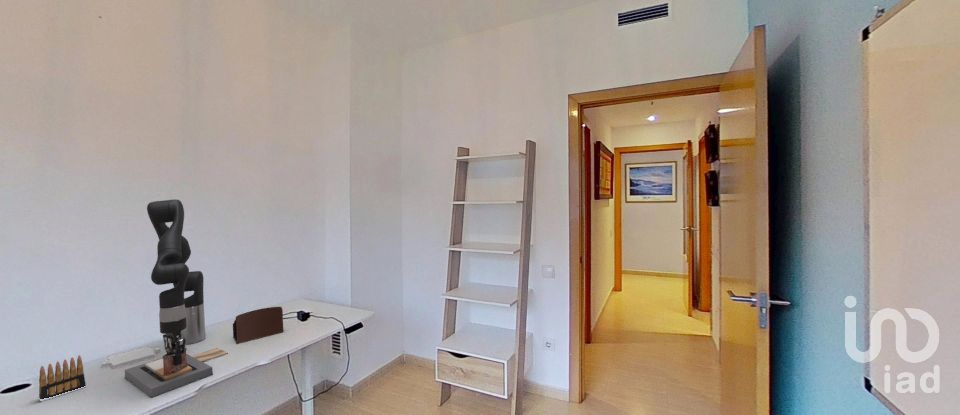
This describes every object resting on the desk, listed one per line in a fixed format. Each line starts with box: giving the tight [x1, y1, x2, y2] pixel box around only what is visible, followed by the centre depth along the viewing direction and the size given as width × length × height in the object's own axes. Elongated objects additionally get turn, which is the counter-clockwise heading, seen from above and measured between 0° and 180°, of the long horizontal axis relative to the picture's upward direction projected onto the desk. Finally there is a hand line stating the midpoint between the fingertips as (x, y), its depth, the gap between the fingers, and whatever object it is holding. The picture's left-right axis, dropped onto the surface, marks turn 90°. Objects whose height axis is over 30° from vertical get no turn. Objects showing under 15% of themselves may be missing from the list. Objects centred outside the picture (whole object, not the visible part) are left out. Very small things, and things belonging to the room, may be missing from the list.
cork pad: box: [190, 347, 228, 363], centre depth 155 cm, size 10×10×1 cm
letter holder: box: [232, 306, 285, 345], centre depth 178 cm, size 10×20×14 cm, turn 133°
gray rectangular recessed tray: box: [123, 353, 214, 398], centre depth 138 cm, size 28×18×3 cm, turn 58°
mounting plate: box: [100, 346, 161, 370], centre depth 154 cm, size 18×13×2 cm
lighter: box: [161, 346, 188, 376], centre depth 134 cm, size 8×3×10 cm, turn 168°
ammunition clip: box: [38, 355, 87, 399], centre depth 127 cm, size 11×2×12 cm, turn 153°
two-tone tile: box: [144, 358, 192, 380], centre depth 138 cm, size 20×8×1 cm, turn 58°
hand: (175, 363), depth 134 cm, fingers closed on lighter, 4 cm apart
